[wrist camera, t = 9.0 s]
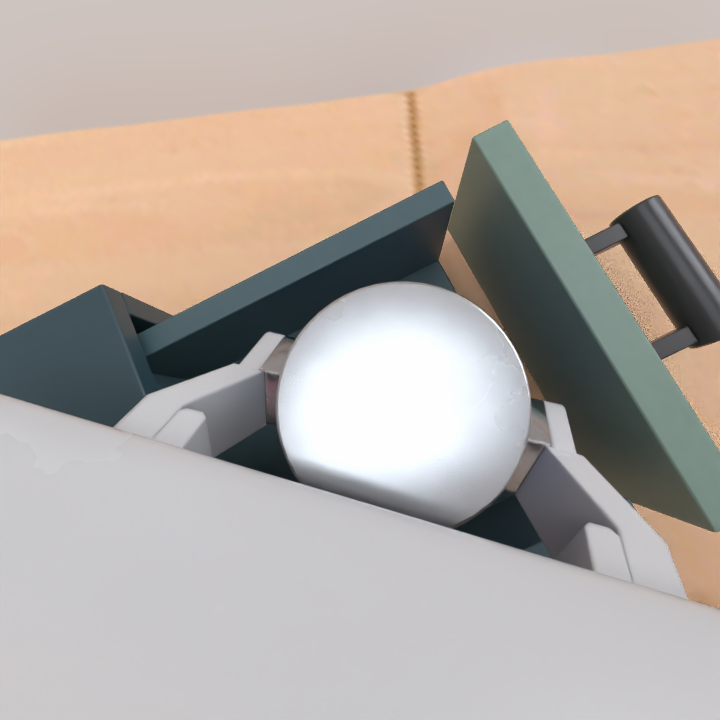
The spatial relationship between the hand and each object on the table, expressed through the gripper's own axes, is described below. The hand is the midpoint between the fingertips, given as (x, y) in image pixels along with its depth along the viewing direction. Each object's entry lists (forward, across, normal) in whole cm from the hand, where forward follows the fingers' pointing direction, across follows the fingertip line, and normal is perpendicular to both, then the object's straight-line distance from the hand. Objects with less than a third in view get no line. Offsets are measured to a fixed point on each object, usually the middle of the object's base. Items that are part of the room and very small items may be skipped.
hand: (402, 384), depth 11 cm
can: (+3, 0, +4) cm, 5 cm away
